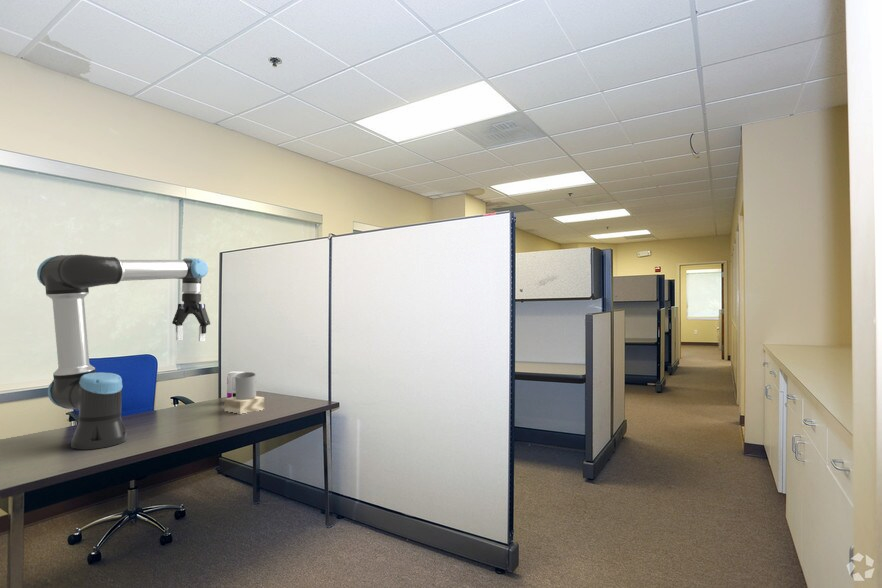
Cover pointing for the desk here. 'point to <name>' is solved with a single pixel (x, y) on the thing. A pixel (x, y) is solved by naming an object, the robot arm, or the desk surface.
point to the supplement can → (232, 383)
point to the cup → (245, 385)
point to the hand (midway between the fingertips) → (190, 340)
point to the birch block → (244, 405)
